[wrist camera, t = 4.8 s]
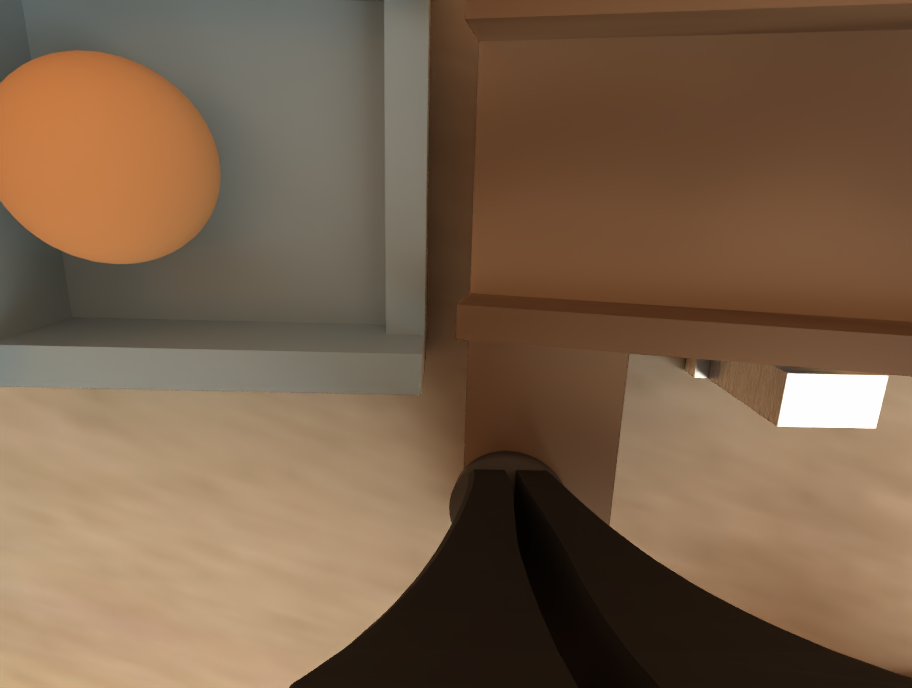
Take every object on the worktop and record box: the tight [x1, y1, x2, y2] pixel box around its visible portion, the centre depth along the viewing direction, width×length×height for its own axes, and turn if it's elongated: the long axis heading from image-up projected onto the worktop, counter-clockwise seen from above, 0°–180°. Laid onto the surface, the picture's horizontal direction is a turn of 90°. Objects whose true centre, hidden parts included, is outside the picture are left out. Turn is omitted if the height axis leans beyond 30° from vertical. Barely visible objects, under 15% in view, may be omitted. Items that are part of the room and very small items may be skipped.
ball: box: [0, 50, 221, 264], centre depth 10 cm, size 4×4×4 cm
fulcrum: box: [685, 358, 889, 428], centre depth 10 cm, size 8×2×3 cm, turn 178°
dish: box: [0, 0, 431, 395], centre depth 10 cm, size 8×9×4 cm
